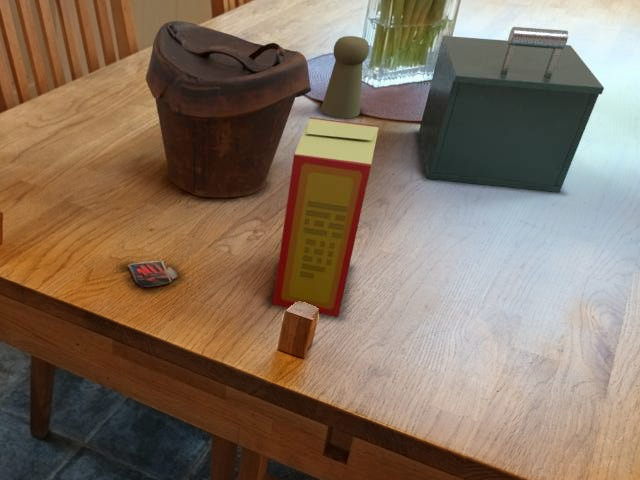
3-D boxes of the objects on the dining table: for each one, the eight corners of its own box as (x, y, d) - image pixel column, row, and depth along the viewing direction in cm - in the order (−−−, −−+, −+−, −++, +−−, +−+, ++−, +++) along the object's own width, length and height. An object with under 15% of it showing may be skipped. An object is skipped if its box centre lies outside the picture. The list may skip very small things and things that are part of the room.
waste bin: (559, 192, 93) (600, 92, 84) (426, 178, 95) (453, 80, 87) (535, 142, 105) (568, 51, 97) (418, 131, 108) (441, 42, 100)
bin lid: (601, 94, 84) (623, 40, 80) (454, 82, 86) (468, 29, 83) (568, 51, 97) (586, 3, 93) (441, 41, 100) (453, -6, 96)
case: (315, 205, 89) (341, 53, 77) (155, 215, 86) (158, 59, 74) (274, 147, 102) (291, 11, 91) (135, 154, 99) (134, 14, 88)
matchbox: (143, 291, 73) (143, 287, 73) (120, 268, 76) (120, 264, 76) (183, 280, 75) (183, 276, 74) (159, 257, 78) (159, 253, 78)
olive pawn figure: (330, 101, 117) (343, 29, 110) (365, 110, 114) (380, 37, 107) (314, 112, 113) (326, 38, 106) (350, 121, 110) (364, 46, 104)
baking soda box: (338, 316, 70) (371, 161, 60) (272, 304, 72) (294, 151, 62) (348, 268, 77) (379, 122, 67) (288, 257, 79) (310, 113, 69)
